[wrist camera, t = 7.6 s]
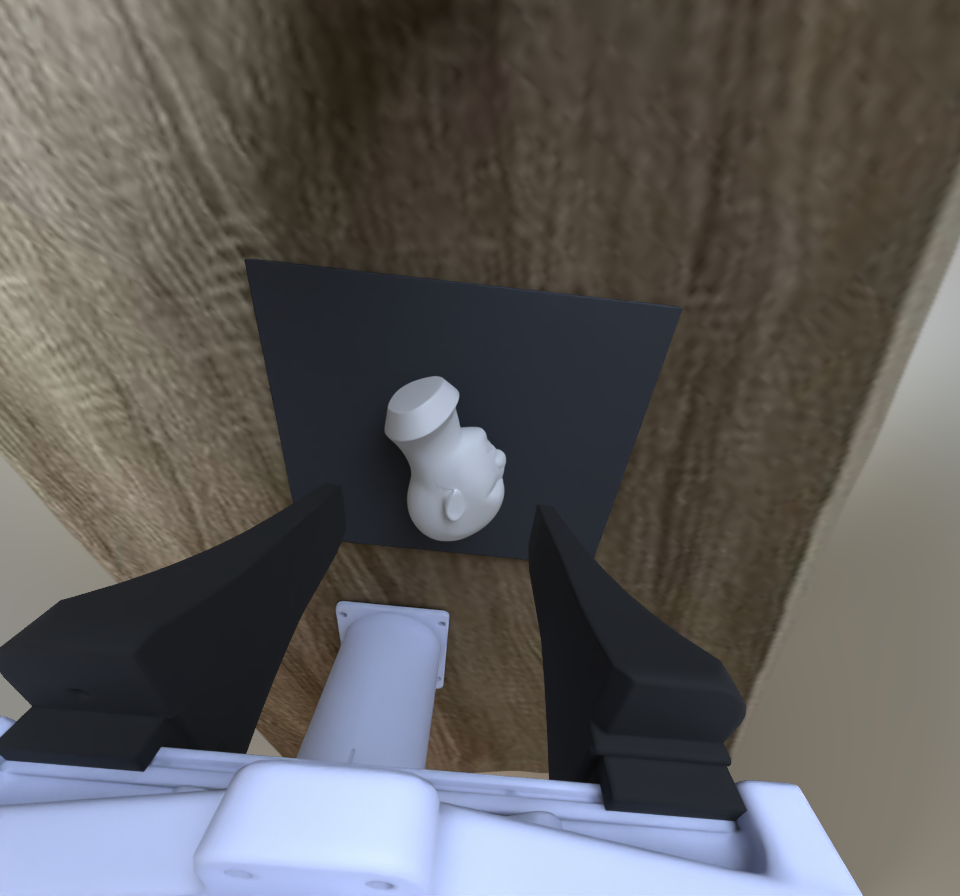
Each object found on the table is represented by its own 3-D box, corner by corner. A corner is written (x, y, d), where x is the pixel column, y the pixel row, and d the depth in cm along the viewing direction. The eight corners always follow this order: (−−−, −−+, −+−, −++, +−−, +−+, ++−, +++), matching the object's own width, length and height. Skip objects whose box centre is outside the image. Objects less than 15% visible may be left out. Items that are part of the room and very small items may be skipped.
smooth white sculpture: (499, 491, 20) (414, 516, 19) (479, 356, 16) (371, 380, 15) (528, 540, 16) (424, 574, 16) (511, 380, 13) (371, 414, 12)
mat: (589, 559, 22) (591, 566, 21) (304, 531, 21) (299, 538, 21) (676, 306, 15) (683, 307, 14) (252, 258, 14) (243, 258, 14)
